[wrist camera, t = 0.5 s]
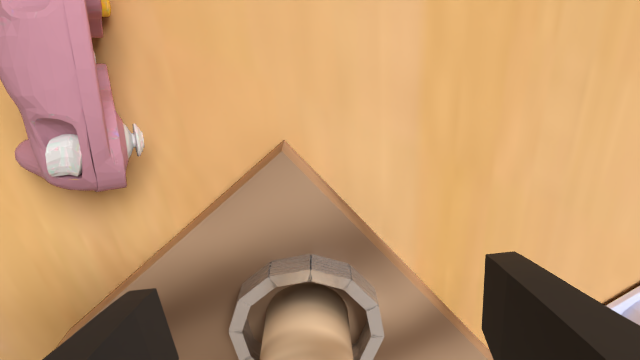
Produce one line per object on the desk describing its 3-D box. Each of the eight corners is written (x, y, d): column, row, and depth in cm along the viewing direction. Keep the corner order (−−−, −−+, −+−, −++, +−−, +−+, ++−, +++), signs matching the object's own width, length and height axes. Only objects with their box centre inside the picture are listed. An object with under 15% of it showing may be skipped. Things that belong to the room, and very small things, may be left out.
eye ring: (407, 319, 20) (412, 337, 19) (303, 388, 22) (302, 409, 21) (312, 227, 18) (312, 242, 17) (205, 312, 20) (199, 330, 19)
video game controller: (136, 150, 20) (158, 212, 14) (23, 162, 18) (-4, 240, 12) (104, -90, 16) (116, -133, 10) (-46, -109, 14) (-131, -177, 8)
